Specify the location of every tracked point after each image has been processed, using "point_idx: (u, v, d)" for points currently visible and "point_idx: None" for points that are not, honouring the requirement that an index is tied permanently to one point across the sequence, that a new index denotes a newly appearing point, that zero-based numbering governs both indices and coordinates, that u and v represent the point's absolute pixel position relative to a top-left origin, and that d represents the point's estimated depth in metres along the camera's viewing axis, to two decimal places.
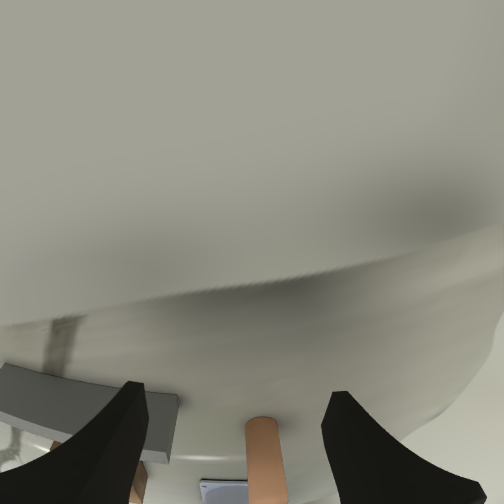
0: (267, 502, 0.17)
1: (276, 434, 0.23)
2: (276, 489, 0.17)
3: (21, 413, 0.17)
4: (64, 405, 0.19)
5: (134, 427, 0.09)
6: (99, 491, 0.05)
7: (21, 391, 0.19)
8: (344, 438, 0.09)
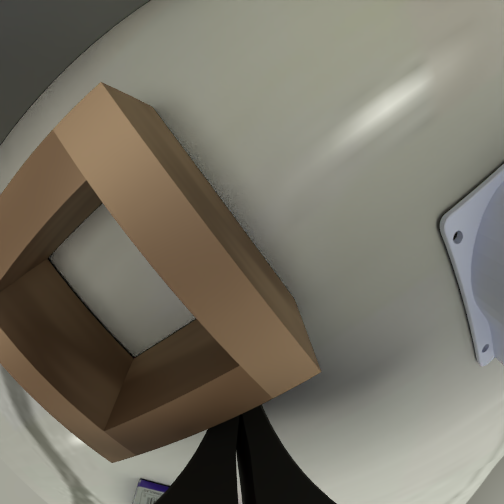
0: None
1: None
2: None
3: None
4: None
5: None
6: None
7: None
8: (242, 442, 0.09)
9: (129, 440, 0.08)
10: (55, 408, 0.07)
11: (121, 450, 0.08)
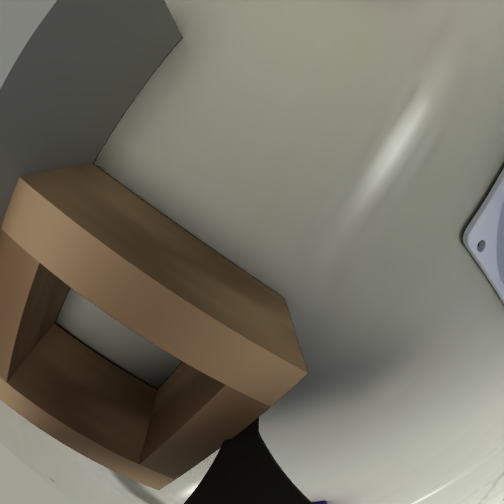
0: None
1: None
2: None
3: None
4: None
5: None
6: None
7: None
8: None
9: (162, 467, 0.08)
10: (93, 454, 0.08)
11: (161, 477, 0.09)
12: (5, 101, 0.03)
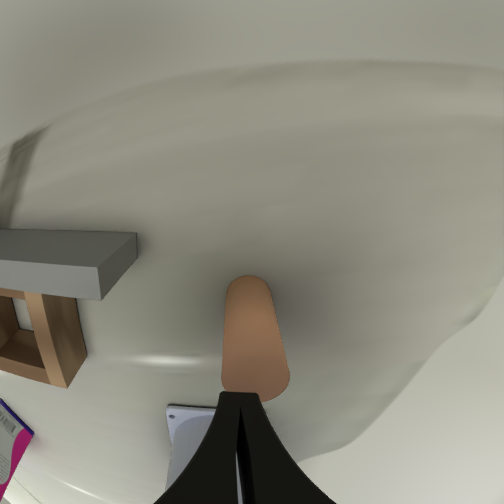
0: (253, 379, 0.12)
1: (269, 295, 0.18)
2: (268, 348, 0.12)
3: None
4: None
5: None
6: None
7: None
8: (242, 442, 0.09)
9: (1, 363, 0.16)
10: None
11: None
12: (46, 291, 0.13)
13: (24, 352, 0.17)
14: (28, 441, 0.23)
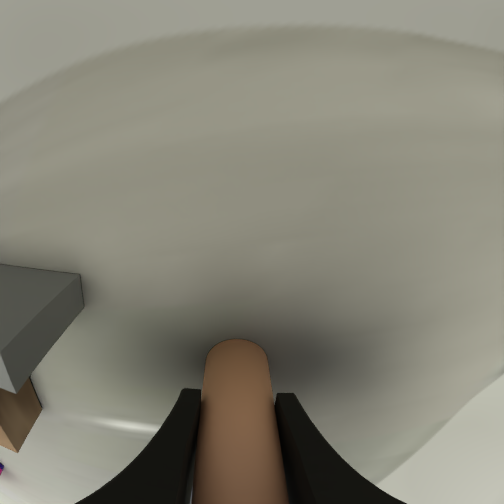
0: None
1: (265, 373, 0.12)
2: (261, 496, 0.06)
3: None
4: None
5: (195, 435, 0.09)
6: None
7: None
8: (283, 442, 0.09)
9: None
10: None
11: None
12: None
13: None
14: None
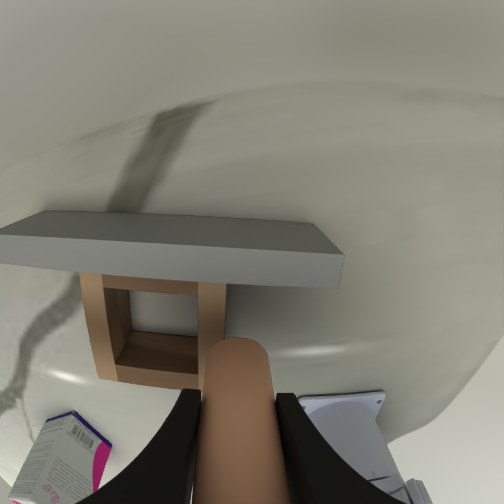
0: None
1: (266, 372, 0.12)
2: (263, 494, 0.06)
3: (73, 235, 0.13)
4: (152, 226, 0.15)
5: (195, 435, 0.09)
6: None
7: (72, 222, 0.15)
8: (283, 442, 0.09)
9: (123, 374, 0.17)
10: (97, 343, 0.16)
11: (113, 375, 0.17)
12: (264, 282, 0.14)
13: (157, 358, 0.18)
14: (107, 455, 0.23)
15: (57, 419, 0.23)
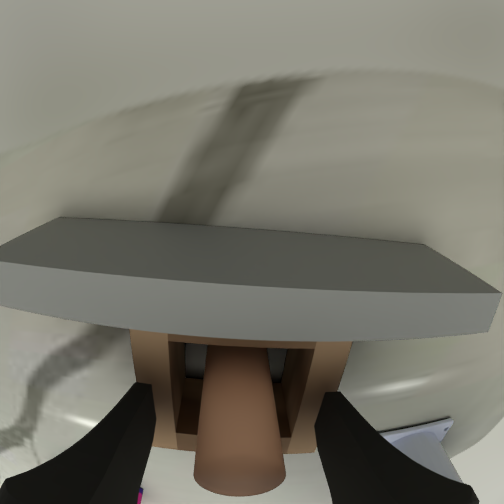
0: (236, 478, 0.08)
1: None
2: (258, 444, 0.08)
3: (129, 267, 0.08)
4: (250, 251, 0.10)
5: (142, 429, 0.09)
6: (110, 494, 0.05)
7: (114, 240, 0.10)
8: (336, 439, 0.09)
9: (187, 442, 0.12)
10: None
11: (170, 443, 0.12)
12: (420, 333, 0.09)
13: None
14: (139, 502, 0.19)
15: None
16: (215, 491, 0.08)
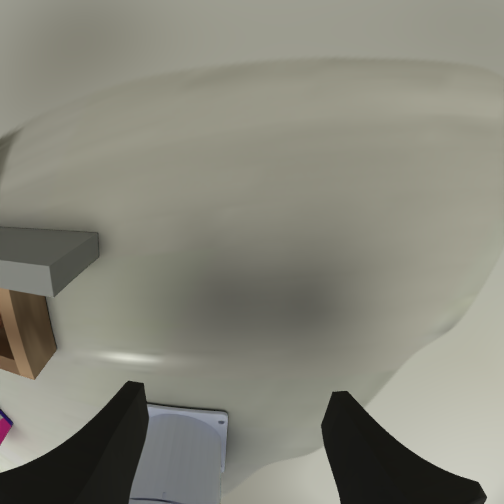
0: None
1: None
2: None
3: None
4: None
5: (134, 427, 0.09)
6: (99, 491, 0.05)
7: None
8: (344, 438, 0.09)
9: None
10: None
11: None
12: (9, 286, 0.13)
13: None
14: (7, 431, 0.22)
15: None
16: None
